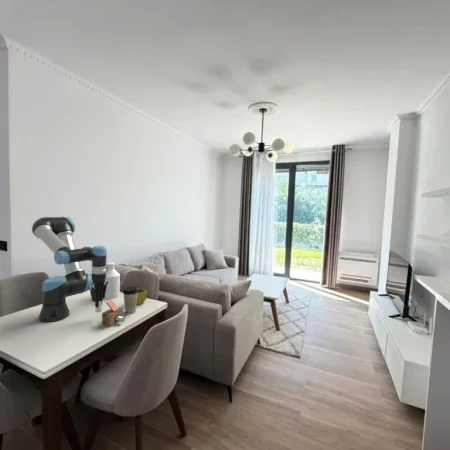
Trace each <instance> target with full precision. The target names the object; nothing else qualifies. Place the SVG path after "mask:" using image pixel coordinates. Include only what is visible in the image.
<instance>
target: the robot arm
mask: <svg viewBox="0 0 450 450" xmlns="http://www.w3.org/2000/svg"><path fill="white" fill-rule="evenodd" d="M31 231H32V232H31V233H32V234H33V235H34V237H36V238H37V239H39V240H41V241H42V243H44V244H45V245H46V247H48V249H49V250H50V251H52V253H53V254H54V255H53V260H54V262H55V264H56V265H63V266H64V270H65V275H58V276H52V277H49V278H47V279H45V280H43V282H42V285H41V286H42V287H41V293H42V294H41V299H42V300H41V301H42V303H41V304H42V306H41V309H40V313H39V314H38V321H40V322H42V323H52V322H58V321H60V320H64V319H66V318H68V317H69V315H70V309H69V307H68V304H67V300H66V299H67V298H68V297H72V296H76V295H80V294H83V293H86V292H88V291H90V292H89V293H90V298H91V301H92V303H94V308H95V311H94V312H96V313H102V303H103V301H104V300H105V293H106V288H107V284H108V282H106V281H105V279H106V271H107V257H108V256H107V254H108V253H107V247H106V246H105V245H96V246H95V245H94V246H93V247H92V246H91V247H90V246H83V247H82V248H75V243H74V241H73V238H72V237H73V235H74V232H75V231H76V224H75V222H74V220H73V219H72V218H70V217H68V216H67V217H66V216H55V217H54V216H52V217H51V216H44V217H40V218H38V219H37V220H35V221H34V222H33V224H32V226H31ZM87 261H89V262H91V275H90V274H89V273H86V270H85V269H83V268H81V267H82V266H81V263H80V262H87Z"/></svg>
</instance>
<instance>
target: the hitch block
mask: <svg viewBox="0 0 450 450" xmlns="http://www.w3.org/2000/svg"><path fill="white" fill-rule="evenodd" d="M117 307H118V308H119V309H118V310H116V311H115V312H113V311H112V310H111V309H110V308H108V309H107V310H104V311H103V312H101V325H102V326H104V327H113V326H115V325H116V324H118V323H119V321H115V316H119V317H124V308H123V307H119V306H117Z"/></svg>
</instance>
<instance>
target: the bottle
mask: <svg viewBox="0 0 450 450" xmlns="http://www.w3.org/2000/svg"><path fill="white" fill-rule="evenodd" d="M115 264H116V263H115V262H108V263H107V266H108V269H106V272H105V273H106V279H105V281H106V282H108V284H107V288H106V293H105V298H104V300H112V299H117V298H119V297H120V293H121V291H120V289H121V287H120V286H121V280H120V279H121V274H120V273H119V272H118V271H117V270H116V269H115Z"/></svg>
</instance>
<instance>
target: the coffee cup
mask: <svg viewBox="0 0 450 450" xmlns="http://www.w3.org/2000/svg"><path fill="white" fill-rule="evenodd" d="M138 289H139V288H137V287H135V286H130V287H129V286H128V287H125V288H124V289H123V291H122V294H123V300H124V301H123V303H124V307H125V313H126V314H127V315H128V314H129V315H131V314H134V313H136V310H137V305H136V304H137V297H138V296H137V294H138V292H139V291H138Z"/></svg>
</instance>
